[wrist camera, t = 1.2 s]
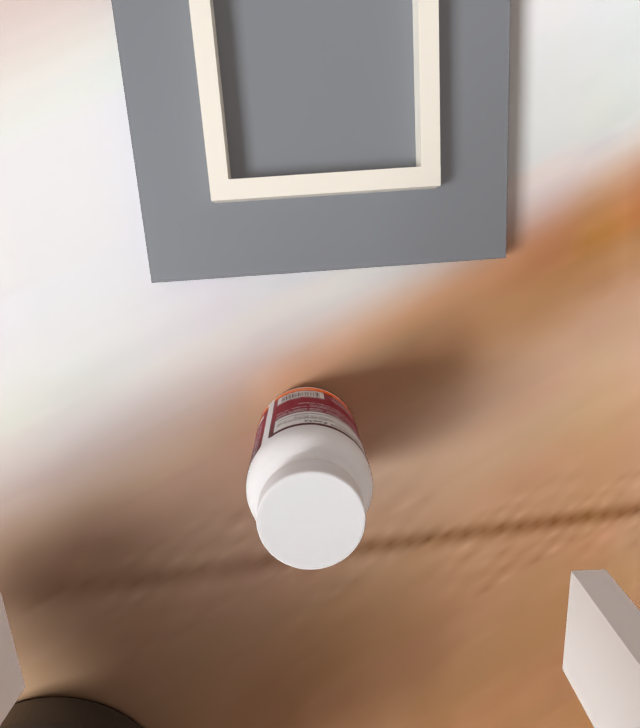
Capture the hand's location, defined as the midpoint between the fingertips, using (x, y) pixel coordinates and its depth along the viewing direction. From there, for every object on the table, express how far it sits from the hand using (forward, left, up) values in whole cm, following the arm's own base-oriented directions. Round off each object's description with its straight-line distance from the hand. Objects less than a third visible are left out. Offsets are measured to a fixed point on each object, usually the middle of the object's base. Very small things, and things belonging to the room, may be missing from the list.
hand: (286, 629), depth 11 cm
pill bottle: (-3, -1, -20) cm, 20 cm away
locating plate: (+17, -2, -20) cm, 27 cm away
